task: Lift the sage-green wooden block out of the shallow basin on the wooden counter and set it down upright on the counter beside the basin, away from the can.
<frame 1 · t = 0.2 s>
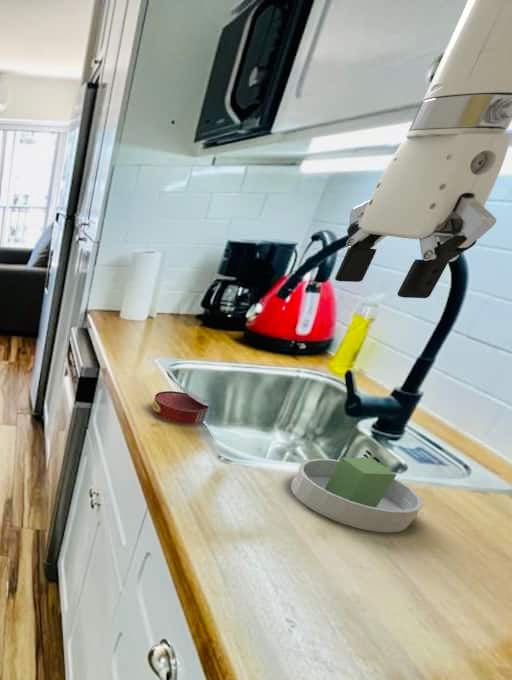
hand: (377, 288, 59), 30 cm above the worktop, tool pointing down, fingers open, 9 cm apart
green block: (348, 499, 72), resting on basin
basin: (346, 502, 72), on the worktop
canned food: (176, 414, 98), on the worktop
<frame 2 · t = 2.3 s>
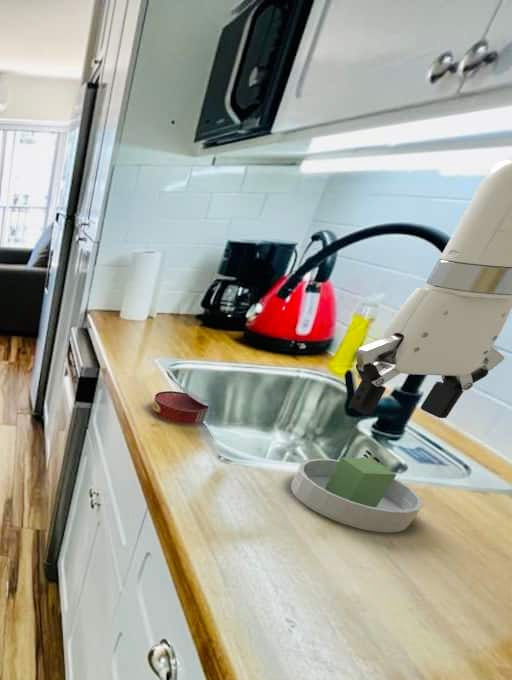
hand: (395, 412, 65), 15 cm above the worktop, tool pointing down, fingers open, 9 cm apart
nothing on the worktop moved.
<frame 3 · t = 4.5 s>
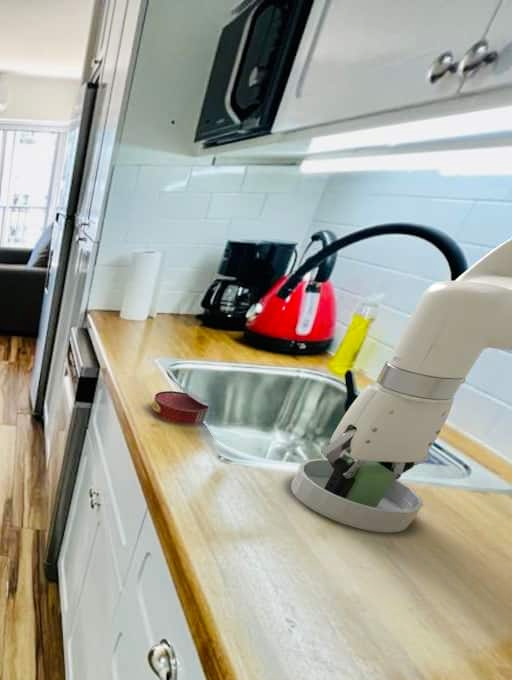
hand: (350, 495, 71), 1 cm above the worktop, tool pointing down, fingers closed on green block, 4 cm apart
green block: (348, 499, 72), point 1 cm above the worktop, touching basin, gripper
everything else where it was.
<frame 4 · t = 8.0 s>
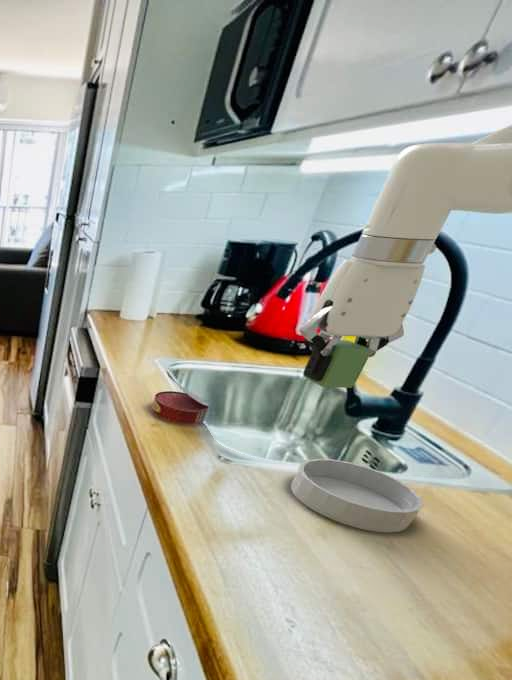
hand: (328, 377, 74), 16 cm above the worktop, tool pointing down, fingers closed on green block, 4 cm apart
green block: (326, 382, 74), point 15 cm above the worktop, touching gripper
everything else where it was.
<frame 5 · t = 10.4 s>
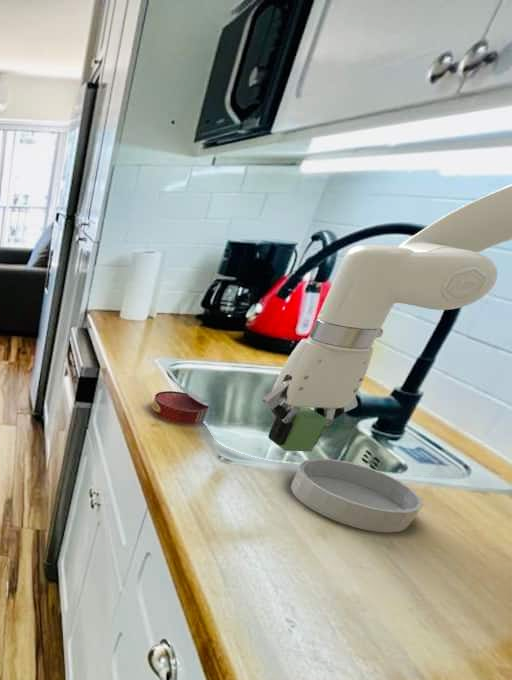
hand: (291, 440, 80), 4 cm above the worktop, tool pointing down, fingers closed on green block, 4 cm apart
green block: (289, 444, 81), point 3 cm above the worktop, touching gripper
everything else where it was.
when the fingers open (1 cm above the worktop, at t = 11.7 s): green block stays where it is, on the worktop.
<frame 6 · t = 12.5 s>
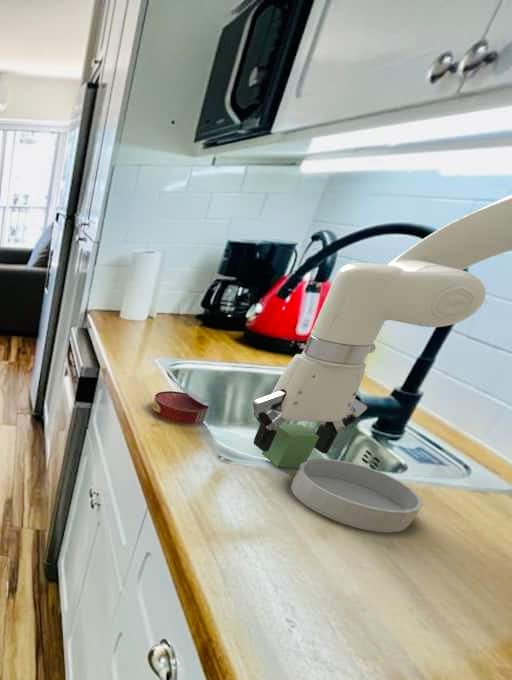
hand: (289, 448, 81), 2 cm above the worktop, tool pointing down, fingers open, 9 cm apart
green block: (282, 460, 82), on the worktop
everything else where it was.
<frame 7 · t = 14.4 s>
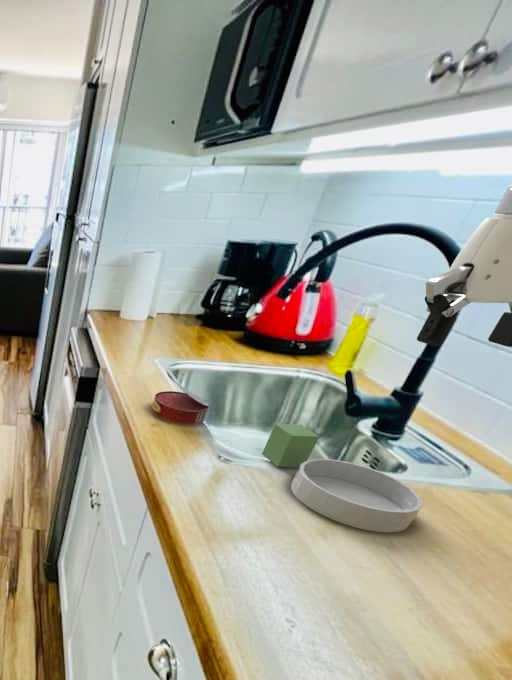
hand: (464, 343, 67), 23 cm above the worktop, tool pointing down, fingers open, 9 cm apart
nothing on the worktop moved.
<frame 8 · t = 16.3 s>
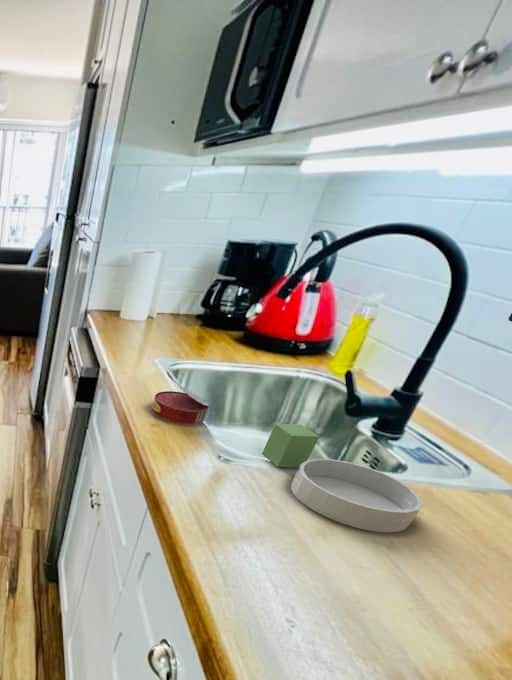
nothing on the worktop moved.
at the end: green block inside the target area (0.1 cm from its centre), on the worktop; green block tilted 0°; green block touching worktop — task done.
